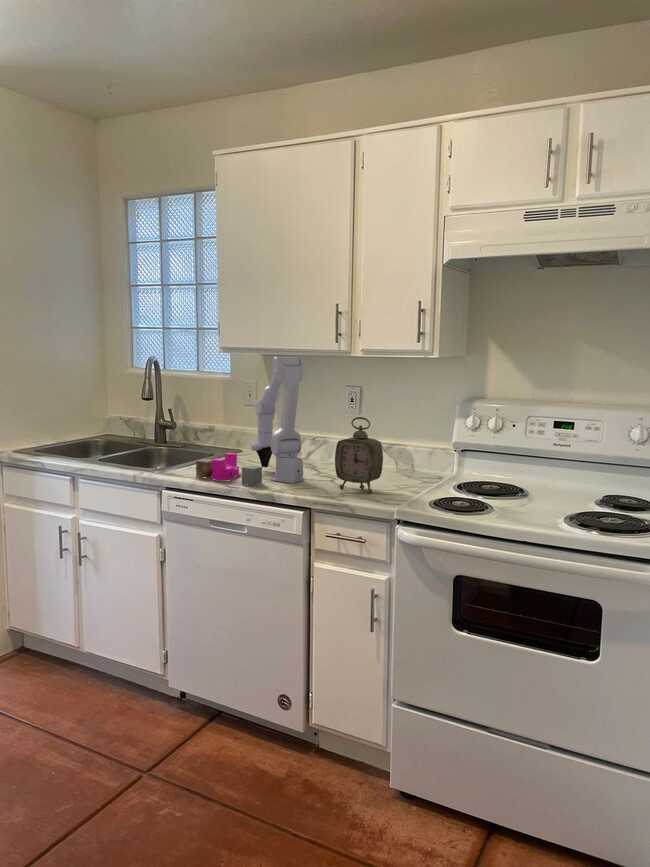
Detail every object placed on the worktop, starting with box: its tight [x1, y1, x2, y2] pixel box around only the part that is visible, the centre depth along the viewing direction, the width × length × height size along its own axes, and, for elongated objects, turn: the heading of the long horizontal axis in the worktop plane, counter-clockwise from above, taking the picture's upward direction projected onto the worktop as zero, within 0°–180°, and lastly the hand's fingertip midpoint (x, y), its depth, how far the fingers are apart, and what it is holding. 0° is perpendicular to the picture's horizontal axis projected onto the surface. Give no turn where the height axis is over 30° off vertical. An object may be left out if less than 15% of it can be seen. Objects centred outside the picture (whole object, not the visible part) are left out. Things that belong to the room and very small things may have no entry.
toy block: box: [211, 452, 240, 481], centre depth 243 cm, size 15×6×8 cm, turn 168°
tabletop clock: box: [334, 416, 384, 494], centre depth 224 cm, size 14×9×25 cm, turn 59°
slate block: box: [241, 464, 263, 486], centre depth 231 cm, size 5×5×6 cm
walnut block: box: [195, 458, 213, 479], centre depth 242 cm, size 5×5×6 cm
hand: (264, 466), depth 255 cm, fingers closed
